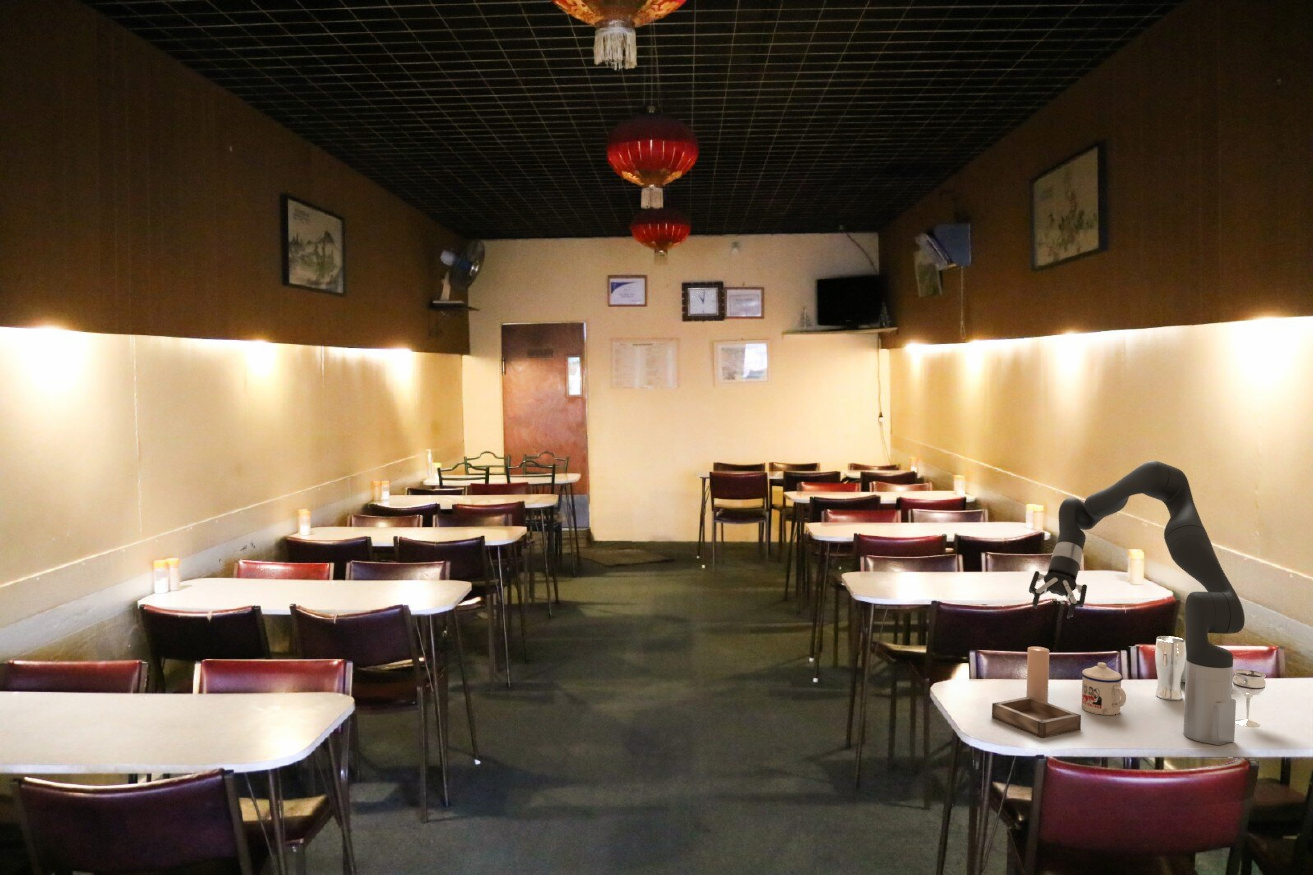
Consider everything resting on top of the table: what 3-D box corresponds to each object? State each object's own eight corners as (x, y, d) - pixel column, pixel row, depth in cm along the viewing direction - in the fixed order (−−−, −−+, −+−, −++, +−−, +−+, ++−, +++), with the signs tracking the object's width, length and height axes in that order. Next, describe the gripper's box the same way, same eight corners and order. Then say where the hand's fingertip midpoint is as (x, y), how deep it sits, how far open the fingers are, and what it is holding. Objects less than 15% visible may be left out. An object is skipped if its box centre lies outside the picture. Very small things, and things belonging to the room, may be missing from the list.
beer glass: (1177, 693, 251) (1179, 636, 250) (1189, 701, 244) (1191, 643, 243) (1149, 692, 252) (1151, 635, 251) (1160, 700, 245) (1162, 642, 244)
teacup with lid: (1072, 705, 240) (1073, 659, 240) (1101, 702, 243) (1103, 656, 243) (1108, 721, 229) (1110, 673, 228) (1139, 717, 232) (1140, 670, 231)
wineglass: (1270, 725, 227) (1272, 675, 227) (1254, 730, 224) (1256, 679, 224) (1240, 716, 233) (1242, 667, 233) (1224, 721, 230) (1226, 671, 229)
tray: (1080, 730, 223) (1081, 715, 223) (1042, 738, 218) (1042, 723, 217) (1029, 710, 236) (1029, 696, 236) (991, 717, 231) (992, 703, 231)
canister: (1052, 706, 240) (1053, 650, 239) (1037, 709, 238) (1039, 652, 237) (1036, 700, 244) (1037, 645, 244) (1021, 703, 242) (1023, 648, 241)
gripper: (1040, 548, 269) (1025, 598, 262) (1094, 563, 263) (1081, 614, 256) (1037, 561, 275) (1023, 610, 268) (1090, 575, 269) (1077, 626, 262)
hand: (1051, 612), depth 262 cm, fingers open, 8 cm apart
